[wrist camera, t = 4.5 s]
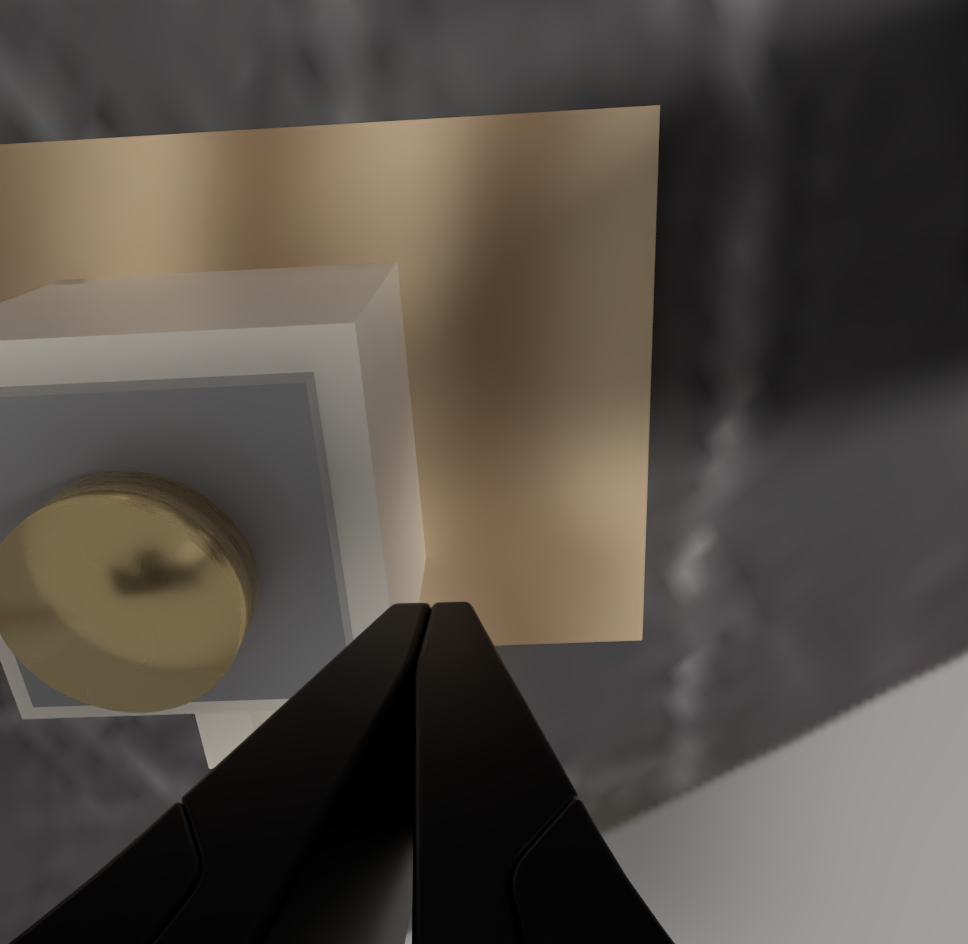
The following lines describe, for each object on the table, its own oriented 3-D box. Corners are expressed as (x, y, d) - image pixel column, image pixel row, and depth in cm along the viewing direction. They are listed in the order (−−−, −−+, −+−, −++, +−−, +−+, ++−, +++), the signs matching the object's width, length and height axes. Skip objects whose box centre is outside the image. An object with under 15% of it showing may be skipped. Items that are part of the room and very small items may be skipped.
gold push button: (337, 335, 18) (251, 452, 11) (365, 545, 20) (305, 739, 14) (101, 347, 18) (-110, 468, 12) (154, 554, 20) (1, 749, 14)
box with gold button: (397, 262, 18) (349, 331, 12) (431, 619, 23) (408, 801, 17) (61, 279, 19) (-144, 356, 13) (156, 628, 23) (34, 812, 17)
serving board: (653, 105, 18) (660, 105, 17) (637, 624, 23) (642, 640, 23) (-207, 157, 18) (-236, 158, 18) (-19, 647, 24) (-35, 664, 23)
